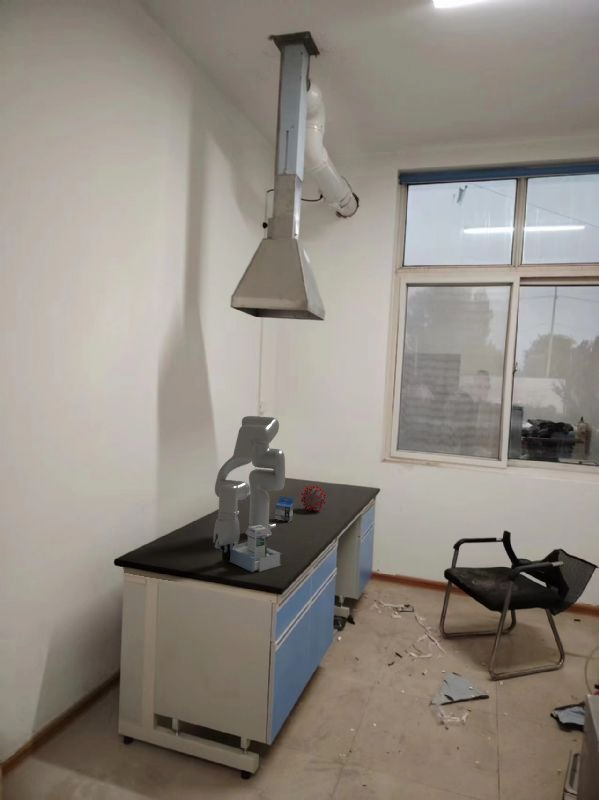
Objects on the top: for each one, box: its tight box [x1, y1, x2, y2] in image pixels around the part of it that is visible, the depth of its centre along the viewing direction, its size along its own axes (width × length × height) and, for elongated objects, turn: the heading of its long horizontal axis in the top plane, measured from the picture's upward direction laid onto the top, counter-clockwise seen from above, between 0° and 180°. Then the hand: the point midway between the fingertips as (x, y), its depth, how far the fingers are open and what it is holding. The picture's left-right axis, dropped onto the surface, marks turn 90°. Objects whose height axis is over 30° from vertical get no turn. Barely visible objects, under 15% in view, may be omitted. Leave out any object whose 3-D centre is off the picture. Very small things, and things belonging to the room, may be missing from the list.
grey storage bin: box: [233, 541, 282, 573], centre depth 209 cm, size 11×19×5 cm, turn 45°
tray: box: [228, 546, 270, 573], centre depth 207 cm, size 11×17×5 cm, turn 45°
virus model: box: [300, 484, 327, 512], centre depth 297 cm, size 14×15×15 cm
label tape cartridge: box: [274, 495, 294, 523], centre depth 273 cm, size 9×4×12 cm, turn 62°
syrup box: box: [247, 525, 268, 562], centre depth 204 cm, size 6×6×14 cm
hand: (226, 560), depth 204 cm, fingers closed
